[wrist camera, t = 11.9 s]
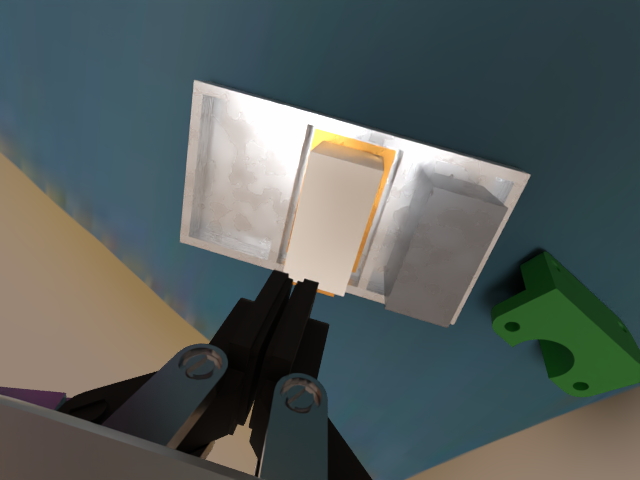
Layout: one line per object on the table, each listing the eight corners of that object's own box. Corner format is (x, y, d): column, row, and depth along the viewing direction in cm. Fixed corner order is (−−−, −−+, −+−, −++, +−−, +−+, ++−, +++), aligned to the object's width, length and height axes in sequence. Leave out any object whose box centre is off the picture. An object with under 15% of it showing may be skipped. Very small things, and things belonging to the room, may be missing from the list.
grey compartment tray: (518, 168, 27) (556, 188, 22) (448, 309, 33) (463, 356, 27) (208, 81, 29) (164, 77, 23) (192, 232, 34) (154, 261, 28)
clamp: (491, 271, 36) (470, 305, 29) (547, 238, 32) (539, 268, 25) (575, 371, 33) (574, 435, 26) (645, 348, 30) (666, 415, 23)
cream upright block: (323, 140, 28) (310, 151, 23) (382, 156, 28) (383, 171, 23) (298, 247, 32) (281, 278, 27) (349, 262, 32) (343, 296, 27)
